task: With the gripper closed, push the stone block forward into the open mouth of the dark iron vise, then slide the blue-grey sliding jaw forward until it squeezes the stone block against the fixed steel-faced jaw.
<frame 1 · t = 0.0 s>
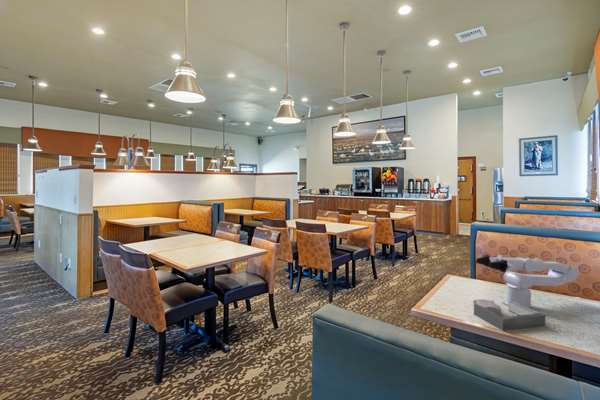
hand: (483, 262, 143), 22 cm above the table, tool horizontal, fingers open, 7 cm apart
stone block: (485, 311, 143), on the table
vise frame: (505, 318, 134), on the table
sliding jaw: (523, 311, 135), point 2 cm above the table, slide at 0.0 cm
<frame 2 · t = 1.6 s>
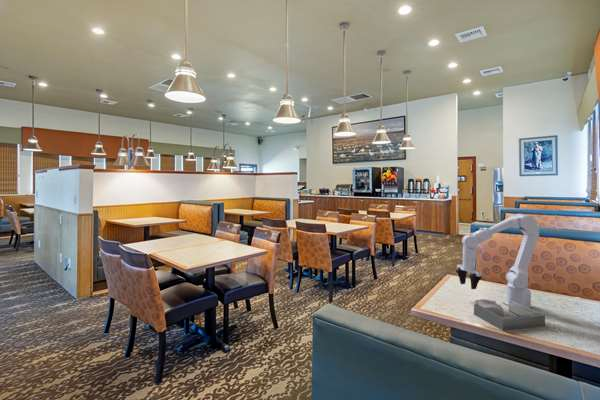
hand: (468, 286, 153), 7 cm above the table, tool pointing down, fingers open, 7 cm apart
nothing on the table moved.
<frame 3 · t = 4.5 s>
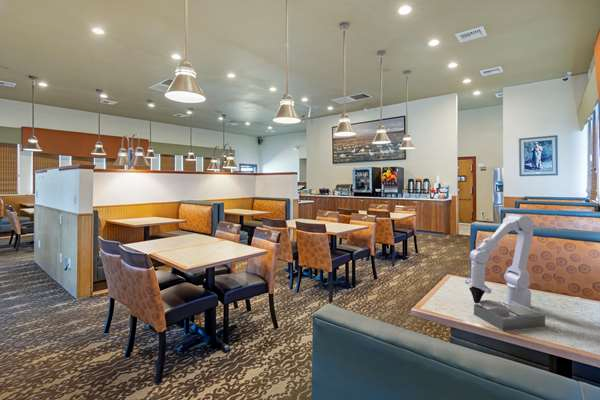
hand: (476, 302, 148), 1 cm above the table, tool pointing down, fingers closed
stone block: (492, 312, 141), on the table, touching gripper
everything else where it was.
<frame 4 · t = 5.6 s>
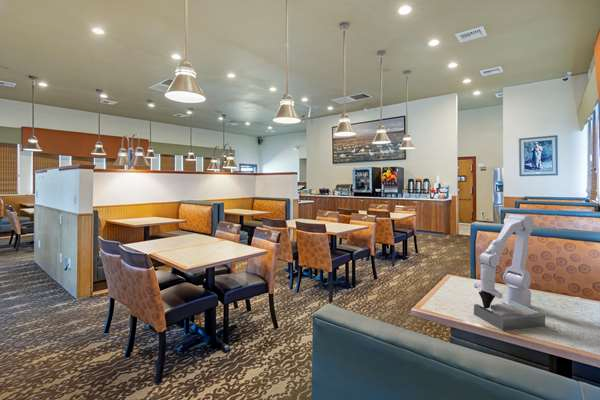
hand: (486, 307, 142), 1 cm above the table, tool pointing down, fingers closed
stone block: (504, 316, 137), on the table, touching gripper
everything else where it was.
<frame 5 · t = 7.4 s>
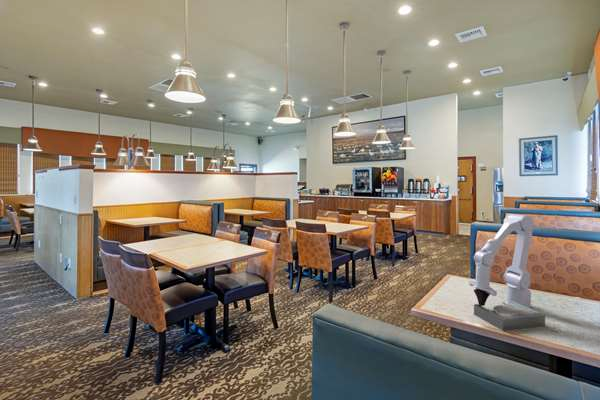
hand: (481, 305, 145), 1 cm above the table, tool pointing down, fingers closed
stone block: (508, 318, 135), on the table
everything else where it was.
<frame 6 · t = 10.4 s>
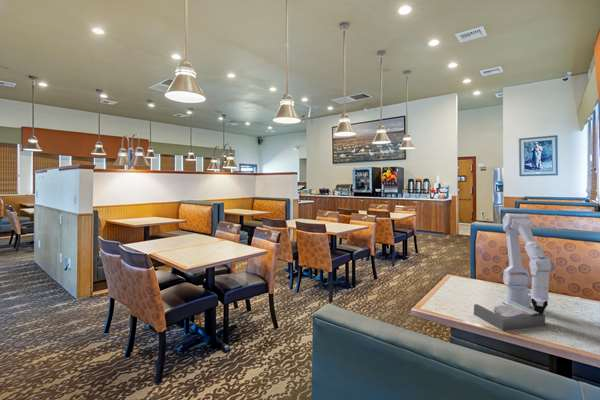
hand: (538, 317, 132), 2 cm above the table, tool pointing down, fingers closed
sliding jaw: (522, 311, 135), point 2 cm above the table, slide at 0.3 cm, touching gripper
everything else where it was.
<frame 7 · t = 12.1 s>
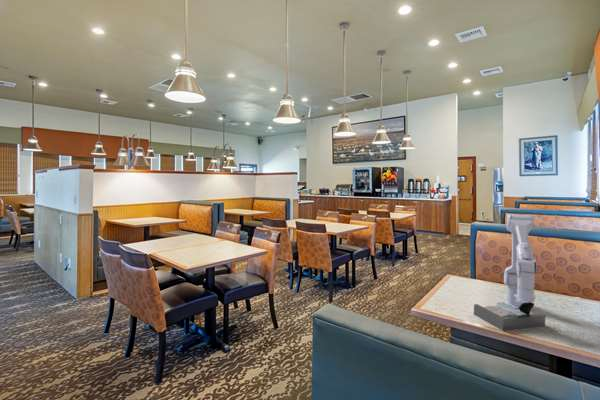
hand: (524, 318, 130), 2 cm above the table, tool pointing down, fingers closed, pressing on sliding jaw
stone block: (497, 319, 134), on the table, touching sliding jaw, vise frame
sliding jaw: (510, 312, 134), point 2 cm above the table, slide at 6.5 cm, touching gripper, stone block
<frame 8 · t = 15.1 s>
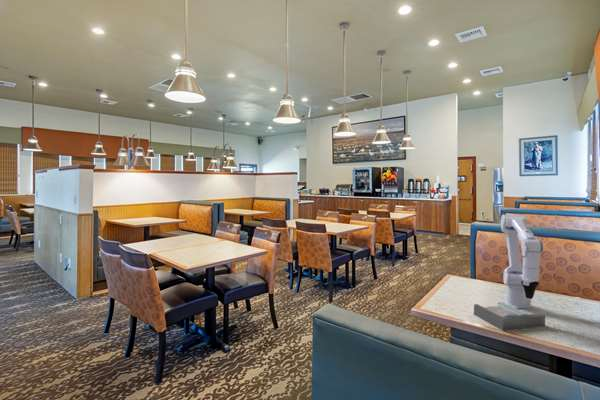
hand: (529, 298, 133), 9 cm above the table, tool pointing down, fingers closed
stone block: (497, 319, 134), on the table
sliding jaw: (511, 312, 134), point 2 cm above the table, slide at 6.1 cm
at the end: stone block 0.7 cm from the target spot, on the table; sliding jaw slide at 6.1 cm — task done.
